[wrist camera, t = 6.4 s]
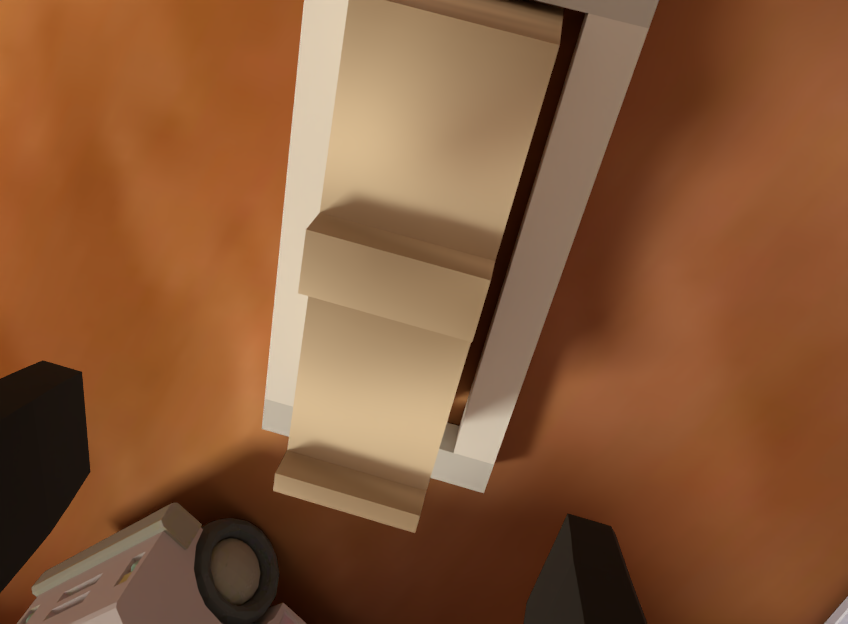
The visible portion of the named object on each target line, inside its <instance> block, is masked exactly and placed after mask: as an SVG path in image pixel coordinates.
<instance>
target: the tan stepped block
mask: <svg viewBox="0 0 848 624" xmlns="http://www.w3.org/2000/svg"><path fill="white" fill-rule="evenodd" d="M563 13H564V8H560V7H556V6H552V5H548V4H544V3H540V2H537V1H533V0H349V1H348V8H347V16H346V23H345V30H344V38H343V45H342V52H341V60H340V67H339V74H338V82H337V89H336V96H335V104H334V111H333V118H332V126H331V133H330V140H329V148H328V155H327V162H326V170H325V177H324V184H323V192H322V199H321V206H320V213H319V214H318V215H317V216H316V218H315V219H314V220H313V221H312V223H311V224H310V225H309V226H308V228H307V229H306V233H305V241H304V249H303V257H302V265H301V273H300V281H299V289H298V293H299V294H302V295H306V296H308V302H307V309H306V316H305V324H304V331H303V338H302V346H301V353H300V360H299V368H298V375H297V382H296V390H295V397H294V404H293V412H292V419H291V426H290V434H289V441H288V448H287V452H286V453H285V455H284V457H283V459H282V461H281V463H280V465H279V467H278V469H277V471H276V473H275V479H274V486H273V491H275V492H279V493H282V494H285V495H289V496H292V497H295V498H299V499H302V500H305V501H309V502H312V503H316V504H319V505H322V506H326V507H329V508H332V509H336V510H339V511H342V512H346V513H349V514H353V515H356V516H359V517H363V518H366V519H369V520H373V521H376V522H379V523H383V524H386V525H390V526H393V527H396V528H400V529H403V530H406V531H410V532H413V533H415V532H416V528H417V525H418V522H419V518H420V515H421V511H422V507H423V503H424V499H425V495H426V491H427V488H428V484H429V481H430V478H431V474H432V471H433V468H434V464H435V461H436V458H437V454H438V451H439V447H440V444H441V441H442V437H443V434H444V431H445V427H446V424H447V421H448V417H449V414H450V411H451V407H452V404H453V401H454V397H455V394H456V391H457V387H458V384H459V381H460V377H461V374H462V371H463V367H464V364H465V361H466V357H467V354H468V350H469V347H470V344H471V342H473V338H474V335H475V332H476V328H477V325H478V322H479V318H480V315H481V312H482V308H483V305H484V302H485V298H486V295H487V292H488V288H489V285H490V282H491V278H492V273H493V269H494V264H495V260H496V257H497V253H498V250H499V247H500V243H501V240H502V237H503V233H504V230H505V227H506V223H507V220H508V217H509V213H510V210H511V207H512V203H513V200H514V197H515V193H516V190H517V187H518V183H519V180H520V176H521V173H522V170H523V166H524V163H525V160H526V156H527V153H528V150H529V146H530V143H531V140H532V136H533V133H534V130H535V126H536V123H537V120H538V116H539V113H540V110H541V106H542V103H543V100H544V96H545V93H546V89H547V86H548V83H549V79H550V76H551V73H552V69H553V66H554V63H555V59H556V56H557V53H558V49H559V46H560V39H561V30H562V21H563Z"/></svg>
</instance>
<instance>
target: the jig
mask: <svg viewBox="0 0 848 624" xmlns="http://www.w3.org/2000/svg"><path fill="white" fill-rule="evenodd" d="M348 1H349V0H304V7H303V17H302V27H301V37H300V47H299V57H298V68H297V78H296V88H295V98H294V108H293V118H292V128H291V138H290V149H289V159H288V169H287V179H286V189H285V199H284V209H283V220H282V230H281V240H280V250H279V260H278V270H277V280H276V291H275V301H274V311H273V321H272V331H271V341H270V351H269V361H268V372H267V382H266V392H265V402H264V412H263V422H262V429H264V430H268V431H271V432H275V433H278V434H281V435H285V436H288V437H289V434H290V426H291V419H292V412H293V404H294V397H295V390H296V382H297V375H298V368H299V360H300V353H301V346H302V338H303V331H304V324H305V316H306V309H307V302H308V296H306V295H302V294H299V293H298V289H299V281H300V273H301V265H302V257H303V249H304V241H305V233H306V229H307V228H308V226H309V225H310V224H311V223H312V221H313V220H314V219H315V218H316V216H317V215H318V214H319V213H320V206H321V199H322V192H323V184H324V177H325V170H326V162H327V155H328V148H329V140H330V133H331V126H332V118H333V111H334V104H335V96H336V89H337V82H338V74H339V67H340V60H341V52H342V45H343V38H344V30H345V23H346V16H347V8H348ZM536 1H540V2H544V3H548V4H552V5H556V6H561V7H565V8H569V9H573V10H577V11H581V12H585V16H584V20H583V23H582V26H581V30H580V33H579V36H578V39H577V43H576V46H575V49H574V52H573V56H572V59H571V62H570V66H569V69H568V72H567V75H566V79H565V82H564V85H563V89H562V92H561V95H560V98H559V102H558V105H557V108H556V111H555V115H554V118H553V121H552V125H551V128H550V131H549V134H548V138H547V141H546V144H545V147H544V151H543V154H542V157H541V161H540V164H539V167H538V170H537V174H536V177H535V180H534V184H533V187H532V190H531V193H530V197H529V200H528V203H527V206H526V210H525V213H524V216H523V220H522V223H521V226H520V229H519V233H518V236H517V239H516V243H515V246H514V249H513V252H512V256H511V259H510V262H509V265H508V269H507V272H506V275H505V279H504V282H503V285H502V288H501V292H500V295H499V298H498V302H497V305H496V308H495V311H494V315H493V318H492V321H491V324H490V328H489V331H488V334H487V338H486V341H485V344H484V347H483V351H482V354H481V357H480V361H479V364H478V367H477V370H476V374H475V377H474V380H473V383H472V387H471V390H470V393H469V397H468V400H467V403H466V406H465V410H464V413H463V416H462V420H461V423H460V426H457V425H454V424H450V423H447V424H446V427H445V431H444V434H443V437H442V441H441V444H440V447H439V451H438V454H437V458H436V461H435V464H434V468H433V471H432V474H431V478H433V479H436V480H440V481H443V482H447V483H450V484H454V485H457V486H461V487H464V488H467V489H471V490H474V491H478V492H481V493H484V491H485V488H486V485H487V483H488V480H489V477H490V474H491V471H492V469H493V466H494V463H495V460H496V457H497V454H498V452H499V449H500V446H501V443H502V440H503V438H504V435H505V432H506V429H507V426H508V424H509V421H510V418H511V415H512V412H513V409H514V407H515V404H516V401H517V398H518V395H519V393H520V390H521V387H522V384H523V381H524V378H525V376H526V373H527V370H528V367H529V364H530V362H531V359H532V356H533V353H534V350H535V348H536V345H537V342H538V339H539V336H540V333H541V331H542V328H543V325H544V322H545V319H546V317H547V314H548V311H549V308H550V305H551V303H552V300H553V297H554V294H555V291H556V288H557V286H558V283H559V280H560V277H561V274H562V272H563V269H564V266H565V263H566V260H567V258H568V255H569V252H570V249H571V246H572V243H573V241H574V238H575V235H576V232H577V229H578V227H579V224H580V221H581V218H582V215H583V213H584V210H585V207H586V204H587V201H588V198H589V196H590V193H591V190H592V187H593V184H594V182H595V179H596V176H597V173H598V170H599V167H600V165H601V162H602V159H603V156H604V153H605V151H606V148H607V145H608V142H609V139H610V137H611V134H612V131H613V128H614V125H615V122H616V120H617V117H618V114H619V111H620V108H621V106H622V103H623V100H624V97H625V94H626V92H627V89H628V86H629V83H630V80H631V77H632V75H633V72H634V69H635V66H636V63H637V61H638V58H639V55H640V52H641V49H642V47H643V44H644V41H645V38H646V35H647V32H648V30H649V27H650V24H651V21H652V18H653V16H654V13H655V10H656V7H657V4H658V1H659V0H536Z"/></svg>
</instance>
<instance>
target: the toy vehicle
mask: <svg viewBox="0 0 848 624" xmlns="http://www.w3.org/2000/svg"><path fill="white" fill-rule="evenodd" d="M201 526H202V524H201V523H200V522H199V521H198V520H197V519H195V518H194V517H193V516H192V515H191V514H190V513H189V512H187V511H186V510H185V509H184V508H183V507H182V506H181V505H180V504H178V503H171V504H169V505H167V506H165V507H164V508H162V509H160V510H158V511H156V512H154V513H152V514H151V515H149V516H147V517H145V518H143V519H141V520H139V521H138V522H136V523H134V524H132V525H130V526H128V527H127V528H125V529H123V530H121V531H119V532H117V533H115V534H114V535H112V536H110V537H108V538H106V539H104V540H102V541H101V542H99V543H97V544H95V545H93V546H91V547H89V548H88V549H86V550H84V551H82V552H80V553H78V554H77V555H75V556H73V557H71V558H69V559H67V560H65V561H64V562H62V563H60V564H58V565H56V566H54V567H52V568H51V569H49V570H47V571H45V572H44V573H43V574H42V575H41V577H40V578H39V579H38V580H37V581H36V583H35V584H34V585H33V586H32V593H33V594H34V595H35V596H36V597H37V598H36V599H35V601H34V602H33V603H32V604H31V606H30V607H29V608H28V610H27V611H26V612H25V614H24V615H23V616H22V617H21V619H20V620H19V621H18V623H17V624H306V623H305V622H304V621H303V620H302V619H301V618H300V617H299V616H298V615H296V614H295V613H294V612H293V611H292V610H291V609H290V608H289V607H288V606H286V605H285V604H284V603H281V604H278V605H275V606H273V607H270V605H271V603H272V602H273V600H274V598H275V596H276V593H277V587H278V580H279V568H278V562H277V556H276V553H275V551H274V549H273V547H272V545H271V542H270V541H269V539H268V538H267V537H266V536H265V534H264V533H263V532H262V530H260V529H259V528H257V527H256V526H254V525H253V524H251V523H250V522H248V521H245V520H239V519H234V518H225V519H220V520H216V521H212V522H210V523H208V524H206V525H205V526H203V527H201ZM269 607H270V608H269Z"/></svg>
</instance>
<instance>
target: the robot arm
mask: <svg viewBox="0 0 848 624" xmlns="http://www.w3.org/2000/svg"><path fill="white" fill-rule="evenodd" d="M89 473H90V462H89V450H88V438H87V427H86V415H85V403H84V391H83V379H82V372H81V371H77V370H74V369H70V368H67V367H63V366H60V365H57V364H53V363H50V362H46V361H40V362H38V363H36V364H33V365H31V366H28V367H26V368H24V369H21V370H19V371H17V372H15V373H12V374H10V375H8V376H6V377H3V378H1V379H0V593H1V591H2V590H3V589H4V588H5V587H6V586H7V584H8V583H9V582H10V581H11V580H12V578H13V577H14V576H15V575H16V574H17V572H18V571H19V570H20V569H21V568H22V566H23V565H24V564H25V563H26V562H27V560H28V559H29V558H30V557H31V556H32V554H33V553H34V552H35V551H36V550H37V549H38V547H39V546H40V545H41V544H42V542H43V541H44V540H45V539H46V537H47V536H48V535H49V534H50V533H51V531H52V530H53V528H54V527H55V525H56V524H57V522H58V521H59V519H60V518H61V516H62V515H63V513H64V512H65V510H66V509H67V507H68V506H69V505H70V503H71V501H72V500H73V498H74V497H75V495H76V493H77V492H78V490H79V489H80V487H81V486H82V484H83V482H84V481H85V479H86V478H87V476H88V474H89ZM524 624H647V621H646V619H645V616H644V613H643V611H642V608H641V605H640V603H639V600H638V597H637V595H636V592H635V589H634V586H633V584H632V581H631V578H630V575H629V572H628V570H627V567H626V564H625V561H624V558H623V555H622V552H621V549H620V546H619V543H618V540H617V537H616V534H615V532H614V531H613V529H612V527H611V526H609V525H605V524H602V523H598V522H595V521H591V520H588V519H585V518H581V517H578V516H574V515H571V514H567V516H566V518H565V520H564V523H563V525H562V527H561V529H560V531H559V534H558V536H557V538H556V540H555V542H554V544H553V547H552V549H551V551H550V553H549V555H548V557H547V560H546V562H545V564H544V566H543V568H542V570H541V573H540V575H539V577H538V579H537V581H536V584H535V586H534V588H533V590H532V592H531V594H530V597H529V599H528V601H527V604H526V611H525V618H524ZM824 624H848V597H847V598H846V599H845V600H844V601H843V602H842V604H841V605H840V606H839V607H838V608H837V609H836V610H835V612H834V613H833V614H832V615H831V616H830V617H829V619H828V620H827V621H826V622H825V623H824Z"/></svg>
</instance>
